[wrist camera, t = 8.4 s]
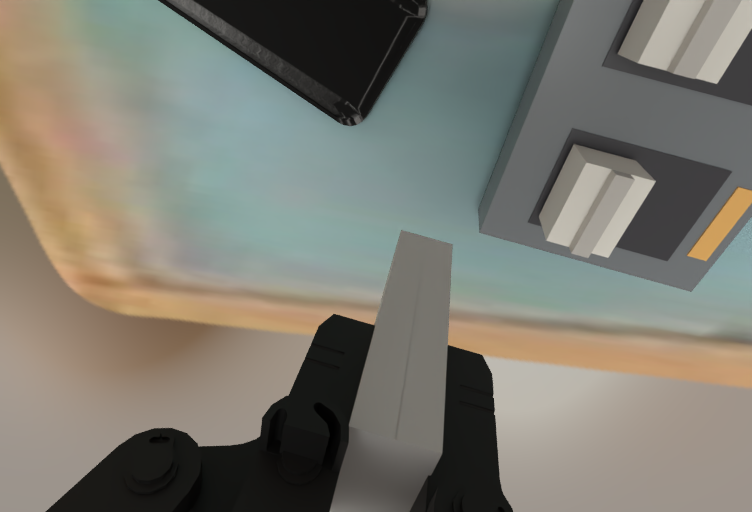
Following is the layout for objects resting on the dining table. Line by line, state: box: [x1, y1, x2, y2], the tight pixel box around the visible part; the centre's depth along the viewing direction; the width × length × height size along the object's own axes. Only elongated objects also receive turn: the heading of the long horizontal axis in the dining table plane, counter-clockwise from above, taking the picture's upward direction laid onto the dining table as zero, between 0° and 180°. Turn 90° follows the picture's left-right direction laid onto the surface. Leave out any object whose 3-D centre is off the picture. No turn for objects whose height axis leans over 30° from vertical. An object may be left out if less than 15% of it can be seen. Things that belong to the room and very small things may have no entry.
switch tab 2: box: [618, 0, 752, 84], centre depth 16 cm, size 4×3×3 cm
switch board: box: [478, 0, 752, 292], centre depth 19 cm, size 24×12×3 cm, turn 168°
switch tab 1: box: [539, 144, 656, 258], centre depth 20 cm, size 4×3×3 cm
